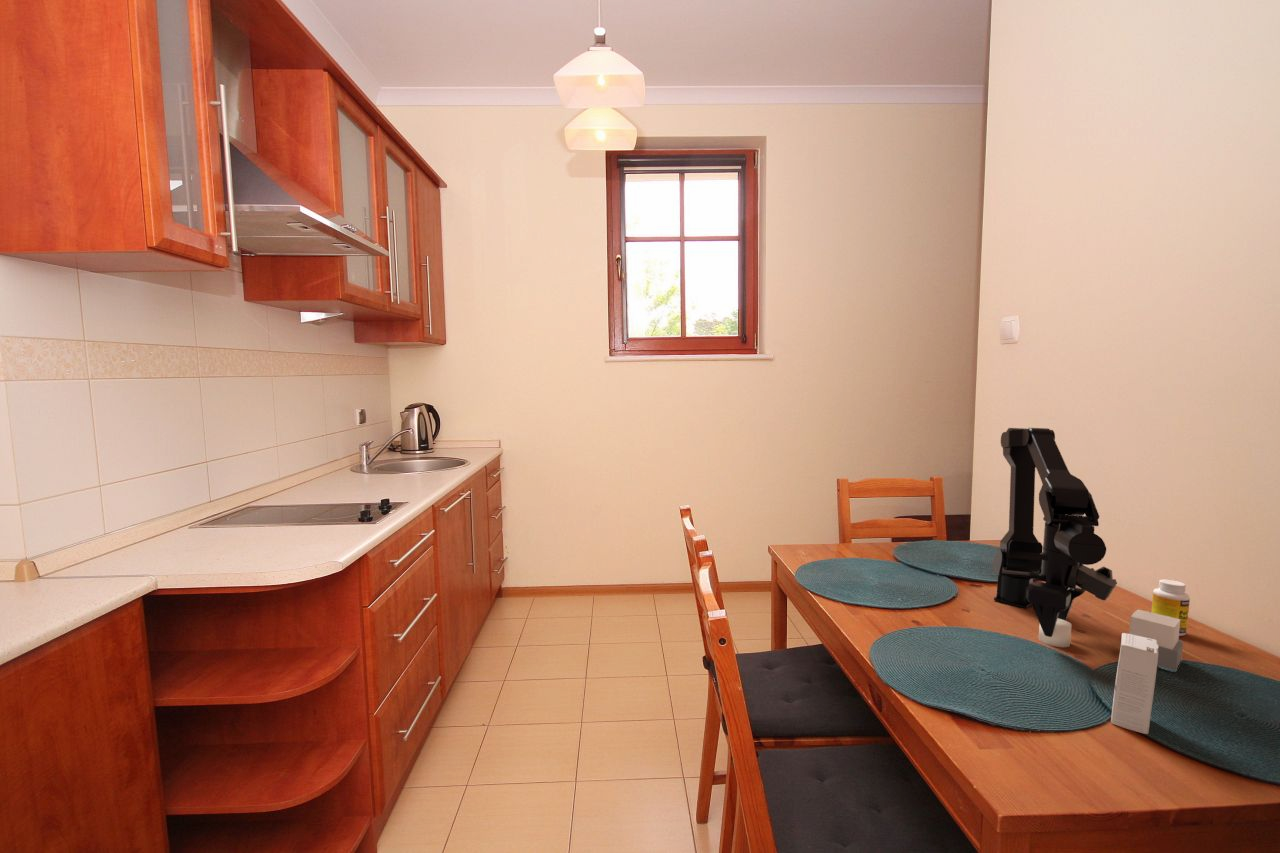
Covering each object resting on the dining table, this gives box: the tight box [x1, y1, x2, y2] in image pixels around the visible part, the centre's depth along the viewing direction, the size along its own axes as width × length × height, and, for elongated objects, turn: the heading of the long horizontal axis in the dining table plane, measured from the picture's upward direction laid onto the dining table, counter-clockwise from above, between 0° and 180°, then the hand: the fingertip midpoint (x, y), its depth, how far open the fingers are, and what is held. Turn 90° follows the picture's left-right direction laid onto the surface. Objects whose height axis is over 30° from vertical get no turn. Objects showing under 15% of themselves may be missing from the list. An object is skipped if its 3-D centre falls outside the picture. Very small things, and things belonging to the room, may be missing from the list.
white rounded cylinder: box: [1038, 618, 1073, 648], centre depth 115 cm, size 5×5×4 cm
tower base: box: [1157, 639, 1184, 670], centre depth 108 cm, size 7×7×4 cm
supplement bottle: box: [1150, 579, 1191, 637], centre depth 121 cm, size 6×6×10 cm
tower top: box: [1128, 608, 1180, 650], centre depth 108 cm, size 6×6×4 cm
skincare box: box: [1110, 632, 1159, 735], centre depth 86 cm, size 6×4×12 cm
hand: (1054, 629), depth 115 cm, fingers open, 9 cm apart
